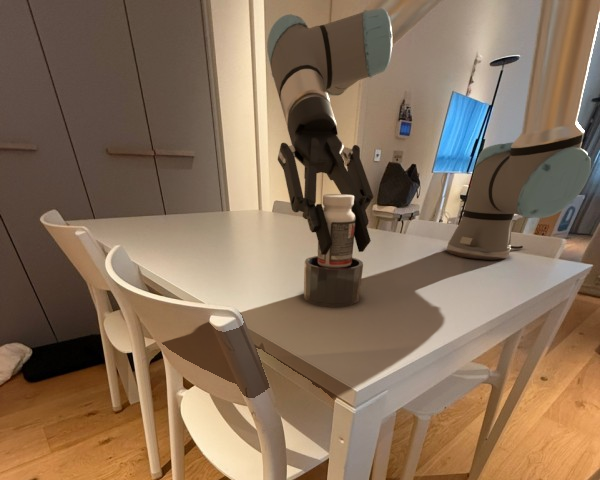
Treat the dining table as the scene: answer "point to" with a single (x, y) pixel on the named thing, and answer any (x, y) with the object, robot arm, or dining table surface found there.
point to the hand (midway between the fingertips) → (346, 247)
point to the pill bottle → (338, 230)
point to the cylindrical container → (332, 283)
